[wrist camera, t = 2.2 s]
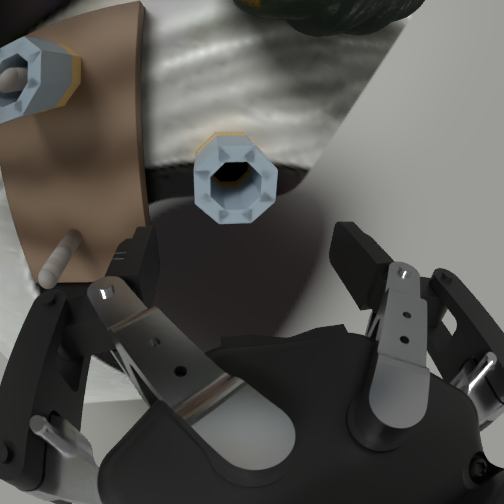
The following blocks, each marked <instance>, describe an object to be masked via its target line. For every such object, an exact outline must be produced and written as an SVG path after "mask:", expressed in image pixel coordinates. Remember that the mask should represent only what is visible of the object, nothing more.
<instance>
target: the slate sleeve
mask: <svg viewBox="0 0 504 504" xmlns="http://www.w3.org/2000/svg"><path fill="white" fill-rule="evenodd" d="M225 162H248V169H247V171H246V172H245V173H244V174H243V175H242V176H241V177H240V178H239V179H238V180H237V181H223V182H220V181H219V180H218V179H217V178H216V177H215V176H214V175H213V174H214V173H215V172H216V171H217V170H218V169H219V168H220V167H221V166H222V165H223V164H224V163H225ZM277 174H278V169H277V168H276V167H275V166H274V165H273V164H272V163H271V162H270V161H269V159H268V158H267V157H266V156H265V155H264V154H263V153H262V152H261V151H260V150H259V149H258V148H257V147H256V146H255V145H254V144H253V143H252V142H251V141H250V140H249V139H248V138H247V137H246V136H245V134H244V133H215V134H214V135H213V136H212V137H211V138H210V139H209V140H208V141H207V142H206V143H205V144H204V145H203V146H202V147H201V148H200V149H199V150H198V151H197V152H196V158H195V165H194V192H195V204H196V205H197V206H198V207H200V208H201V209H202V210H203V211H204V212H205V213H207V214H208V215H209V216H210V217H211V218H212V219H214V220H215V221H216V222H217V223H218V224H235V223H252V222H253V221H254V220H255V219H256V218H257V217H259V216H260V215H261V214H262V213H263V212H264V211H265V210H266V209H267V208H269V207H270V206H271V205H272V204H273V203H274V202H275V199H276V187H277Z"/></svg>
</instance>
